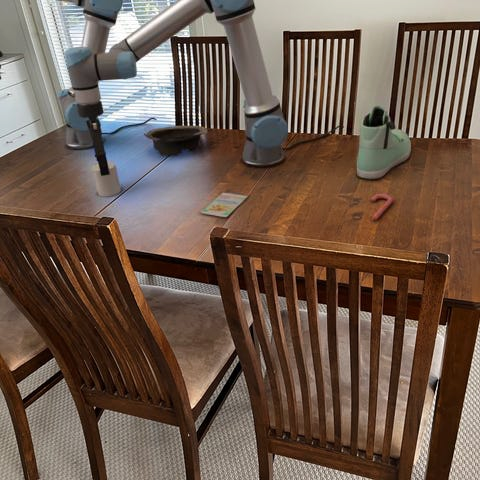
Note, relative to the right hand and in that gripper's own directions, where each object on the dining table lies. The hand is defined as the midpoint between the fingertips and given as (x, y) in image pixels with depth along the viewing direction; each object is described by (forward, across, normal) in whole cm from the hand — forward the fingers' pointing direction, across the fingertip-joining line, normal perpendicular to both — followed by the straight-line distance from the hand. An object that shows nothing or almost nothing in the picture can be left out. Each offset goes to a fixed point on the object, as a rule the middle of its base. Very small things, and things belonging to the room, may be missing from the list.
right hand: (103, 167), depth 156 cm
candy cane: (+8, +51, +71) cm, 88 cm away
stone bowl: (+8, -27, +31) cm, 42 cm away
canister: (+9, 0, 0) cm, 9 cm away
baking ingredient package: (+8, +28, +32) cm, 43 cm away
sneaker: (+8, +22, +92) cm, 95 cm away
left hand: (-24, -40, -34) cm, 58 cm away
